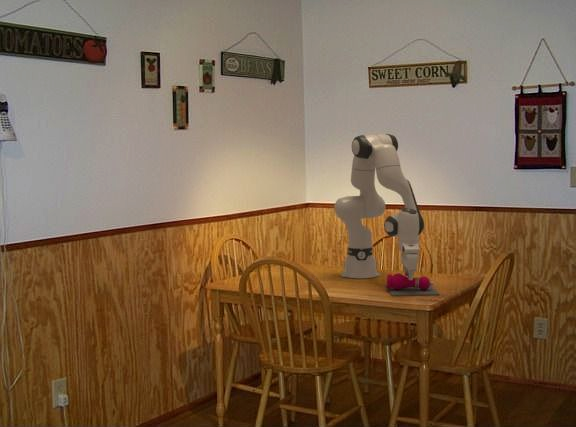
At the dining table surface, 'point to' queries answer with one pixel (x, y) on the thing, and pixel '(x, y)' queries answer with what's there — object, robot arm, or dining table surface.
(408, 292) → the mat
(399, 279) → the pepper mill
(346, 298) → the dining table surface
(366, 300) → the dining table surface
